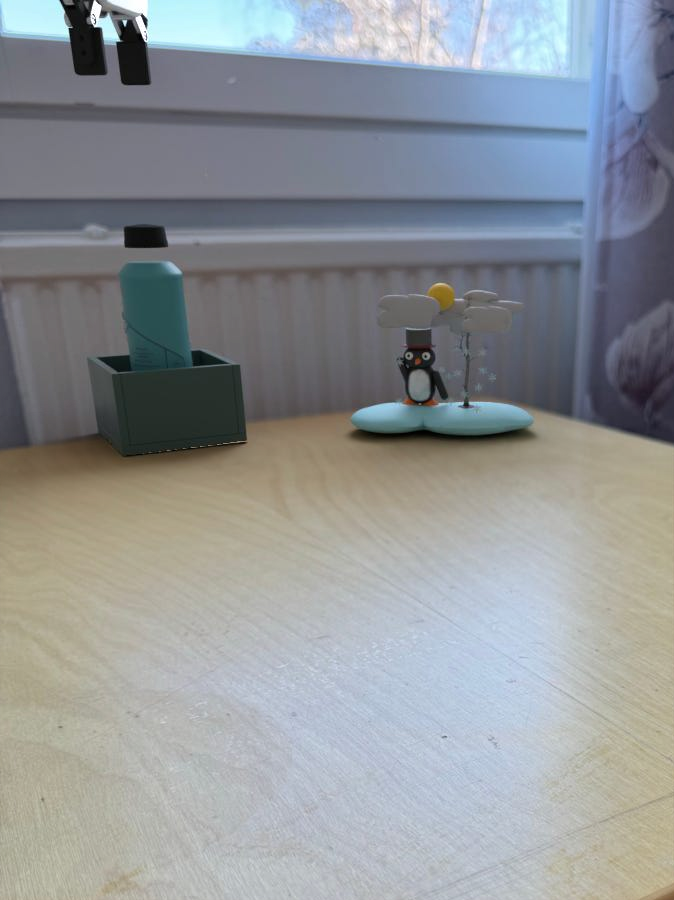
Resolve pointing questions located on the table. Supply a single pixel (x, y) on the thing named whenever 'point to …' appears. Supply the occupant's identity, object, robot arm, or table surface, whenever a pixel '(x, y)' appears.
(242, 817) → the table surface
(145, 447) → the holder bin
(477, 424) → the penguin figurine
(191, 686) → the table surface
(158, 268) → the beverage bottle
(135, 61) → the robot arm
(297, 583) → the table surface
